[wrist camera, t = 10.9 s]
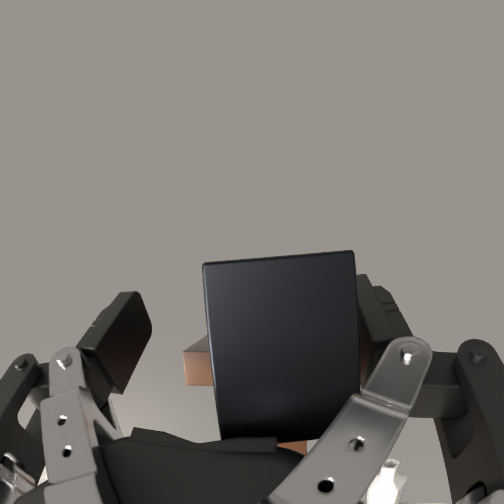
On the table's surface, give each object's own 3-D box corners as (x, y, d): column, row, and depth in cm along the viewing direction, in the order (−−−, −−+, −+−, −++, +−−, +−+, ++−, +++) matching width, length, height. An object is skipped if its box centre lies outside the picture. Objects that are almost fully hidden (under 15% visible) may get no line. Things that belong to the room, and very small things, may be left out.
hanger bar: (400, 422, 5) (391, 197, 6) (176, 445, 5) (151, 217, 6) (296, 314, 27) (292, 261, 27) (242, 319, 27) (238, 266, 28)
